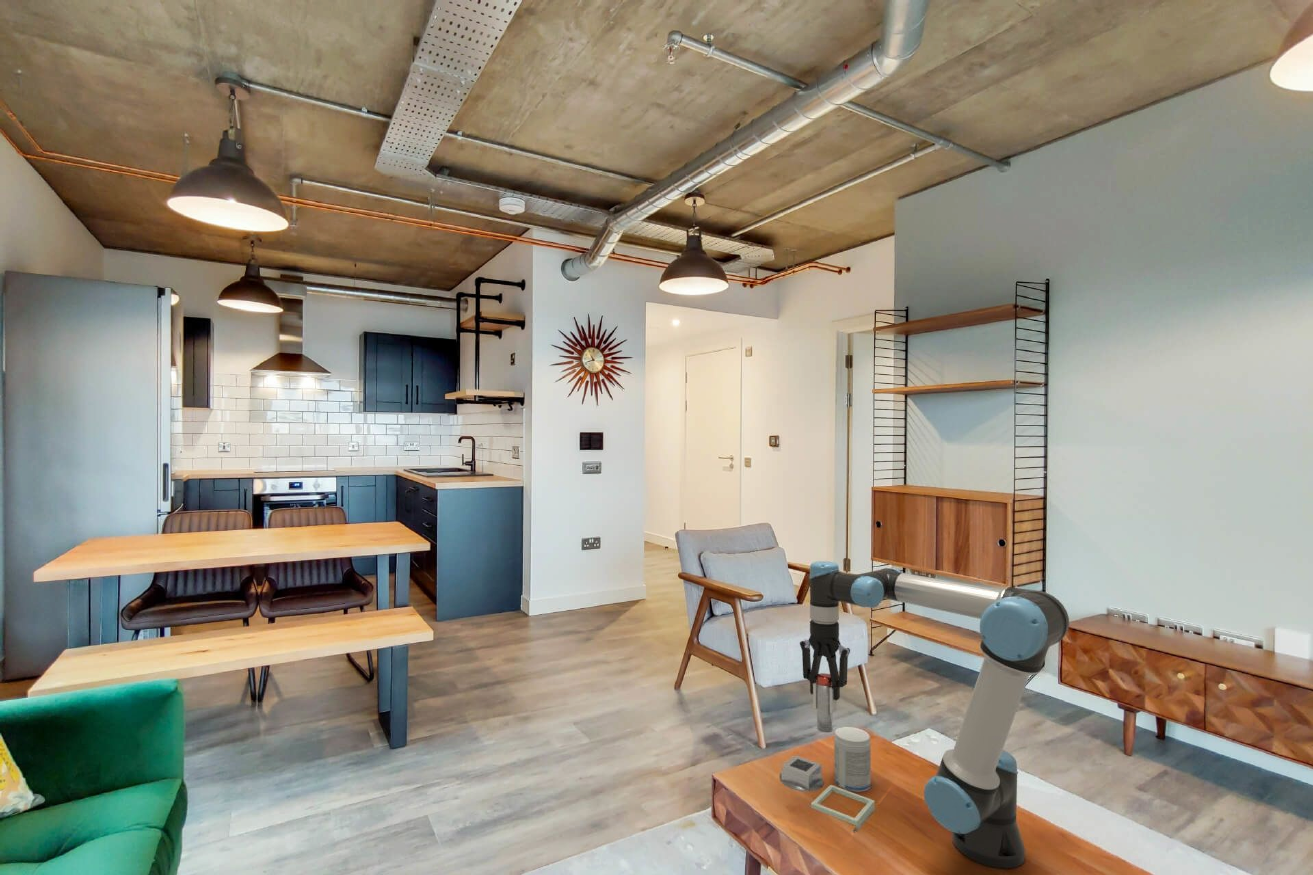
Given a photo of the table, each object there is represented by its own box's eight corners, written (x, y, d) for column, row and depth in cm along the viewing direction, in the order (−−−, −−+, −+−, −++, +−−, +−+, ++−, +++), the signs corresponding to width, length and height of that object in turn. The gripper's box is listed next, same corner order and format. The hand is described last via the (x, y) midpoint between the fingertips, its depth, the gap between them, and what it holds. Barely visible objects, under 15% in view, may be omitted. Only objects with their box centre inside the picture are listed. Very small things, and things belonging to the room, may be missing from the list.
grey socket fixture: (831, 783, 178) (831, 763, 178) (812, 802, 169) (812, 781, 169) (791, 769, 186) (791, 750, 186) (771, 786, 176) (771, 766, 176)
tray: (874, 810, 166) (874, 800, 166) (856, 831, 156) (856, 821, 156) (830, 793, 173) (830, 784, 173) (810, 813, 164) (811, 803, 164)
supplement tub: (876, 788, 176) (877, 734, 176) (859, 801, 170) (860, 745, 170) (844, 774, 183) (845, 722, 183) (827, 786, 177) (827, 732, 177)
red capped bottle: (835, 728, 171) (834, 675, 171) (828, 733, 168) (828, 679, 168) (821, 724, 173) (820, 672, 174) (814, 729, 170) (814, 676, 171)
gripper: (860, 622, 169) (861, 712, 168) (801, 612, 180) (801, 697, 179) (849, 628, 163) (850, 722, 162) (788, 618, 174) (789, 705, 173)
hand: (824, 708), depth 171 cm, fingers closed on red capped bottle, 4 cm apart
